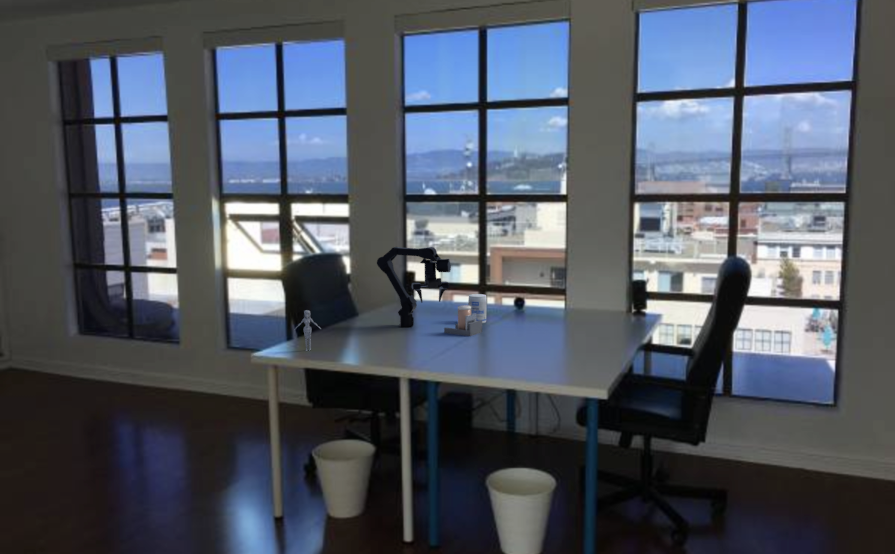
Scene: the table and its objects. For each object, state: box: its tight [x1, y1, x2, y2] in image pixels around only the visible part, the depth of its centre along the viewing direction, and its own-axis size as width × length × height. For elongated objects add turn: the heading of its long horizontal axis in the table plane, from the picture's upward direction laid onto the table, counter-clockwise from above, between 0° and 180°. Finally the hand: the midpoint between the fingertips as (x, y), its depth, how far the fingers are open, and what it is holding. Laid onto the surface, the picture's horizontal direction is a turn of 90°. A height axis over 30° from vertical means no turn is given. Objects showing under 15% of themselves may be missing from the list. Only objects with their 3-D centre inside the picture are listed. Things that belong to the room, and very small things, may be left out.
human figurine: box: [293, 309, 322, 352], centre depth 315 cm, size 12×4×18 cm, turn 97°
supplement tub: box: [467, 293, 488, 324], centre depth 373 cm, size 10×10×15 cm
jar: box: [457, 304, 471, 330], centre depth 346 cm, size 7×7×13 cm
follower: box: [465, 313, 476, 330], centre depth 344 cm, size 1×8×9 cm, turn 147°
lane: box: [443, 320, 483, 337], centre depth 347 cm, size 15×11×6 cm
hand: (430, 302), depth 361 cm, fingers open, 9 cm apart
